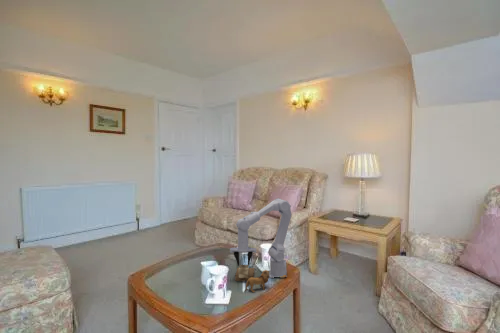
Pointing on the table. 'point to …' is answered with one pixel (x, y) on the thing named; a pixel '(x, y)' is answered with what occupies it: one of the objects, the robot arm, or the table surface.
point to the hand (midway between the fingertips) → (243, 265)
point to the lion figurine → (258, 280)
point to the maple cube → (243, 271)
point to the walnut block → (251, 274)
